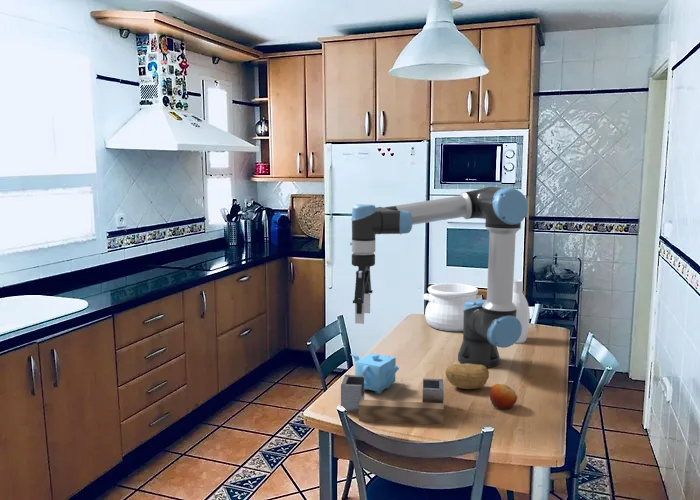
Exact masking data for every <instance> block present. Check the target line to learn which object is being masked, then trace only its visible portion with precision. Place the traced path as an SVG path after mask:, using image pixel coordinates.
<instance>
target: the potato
mask: <svg viewBox="0 0 700 500" xmlns="http://www.w3.org/2000/svg"><path fill="white" fill-rule="evenodd" d="M444 373H445V377H446V380H447V381H448V382H449V383H450V384H451V385H452V386H454V387H456V388H458V389H463V390H474V389H480V388H482V387H484V386H485V385H486V384H487V381H488V379H489V376H490V371H489V369H488V367H485V366H483V365H477V364H469V363H466V364H462V363H457V364H452V365H449V366H447V368H446V369H445V371H444Z"/></svg>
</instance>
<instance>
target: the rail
mask: <svg viewBox="0 0 700 500" xmlns="http://www.w3.org/2000/svg"><path fill="white" fill-rule="evenodd" d="M444 403H445V402H444ZM444 403H426V402H423V401H421V402H419V401H403V400H402V401H399V400H379V399H378V400H377V399H364V400H360V402H359V412H358V421H359V422H378V423H379V422H380V423H398V424H399V423H402V424H420V425H438V426H441V425H442V426H445V425H444V423H445V422H444V421H445V408H444V407H445V405H444Z"/></svg>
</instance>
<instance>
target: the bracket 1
mask: <svg viewBox="0 0 700 500" xmlns="http://www.w3.org/2000/svg"><path fill="white" fill-rule="evenodd" d="M360 400H365V390H364V376H356V375H355V374H354V375H351V374H350V375H349V374H345V375H344V377H343V379H342V382H341V384H340V407H341V406H343V407H344V408H345V409H346V410H347V412H348V413H359V402H360Z"/></svg>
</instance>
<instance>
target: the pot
mask: <svg viewBox="0 0 700 500" xmlns="http://www.w3.org/2000/svg"><path fill="white" fill-rule="evenodd" d="M427 291H428V293H424V294H423V300H425V301H428V302H427V305H426V308H425V310H424V314H425V315H424V316H425V321H426V322H427V324H428V325H429V327H431V328H433V329H436V330H438V329H439V331H443V330H444V332H463V323H464V312H463V310H464V304H465V302H467V301H470V300H483V296H482V295H481V294H479V289H478V288H477V286H474V285H470V284H465V283H452V282H451V283H450V282H449V283H448V282H447V283H444V282H443V283H437V284H432V285H429V286H428V287H427Z"/></svg>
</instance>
